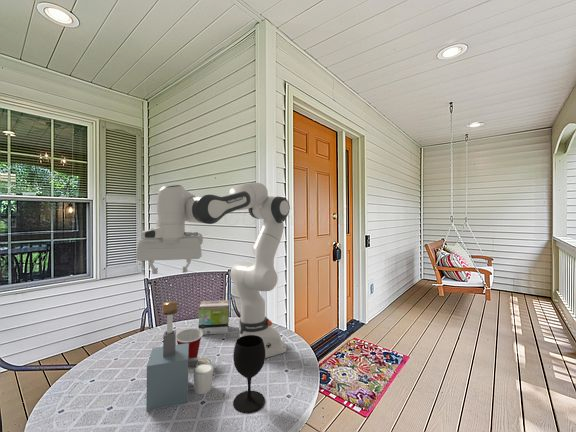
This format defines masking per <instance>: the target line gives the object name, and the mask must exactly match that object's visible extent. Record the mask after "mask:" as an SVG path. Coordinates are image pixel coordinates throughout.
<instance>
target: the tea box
mask: <svg viewBox="0 0 576 432" xmlns="http://www.w3.org/2000/svg"><path fill="white" fill-rule="evenodd" d="M229 316H230V300H229V299H226V300H224V299H223V300H221V299H219V300H201V301H200V304H199V307H198V329H199V330H201V331H202V332H203V335H216V334H217V335H219V334H220V335H221V334H228V333H229V325H230V324H229V320H230V319H229Z"/></svg>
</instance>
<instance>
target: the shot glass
mask: <svg viewBox="0 0 576 432" xmlns="http://www.w3.org/2000/svg"><path fill="white" fill-rule="evenodd" d="M192 373H193V382H194V392H195V393H196V394H199V395H201V394H203V395H204V394H206V393H208V392H210V390H211V389H212V386H213V385H212V384H213V375H214V365H212V364H211V363H202V364H197V368H193V370H192Z"/></svg>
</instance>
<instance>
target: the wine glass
mask: <svg viewBox="0 0 576 432" xmlns="http://www.w3.org/2000/svg"><path fill="white" fill-rule="evenodd" d="M239 337H240V336H239ZM239 337H238V338H237V339H236V341H235V345H234V348H233V355H232V356H233V357H232V358H233V359H232V360H233V364H234V368H235V370H236V371H237V373H238V374H240V375H241V376H242V377H244V378H246V381H247V390H245V391H244V390H243V391H242V392H239V393H238V394H237V395H236V396H235V397H234V398H233V402H232V405H233V408H234V409H235V410H236V411H237V412H239V413H242V414H252V413H256V412H258V411H259V410H261V409H262V408H263V407H264V405H265V402H266V400H265V396H264V395H263V394H262V393H261V392H259V391H257V390H252V389H251V386H252V378H254V377H256V376H257V375H258V374H259V373H260V372H261V371H262V369H263V367H264V365H265V361H266V358H265V346H264V342H263V339H262V338H261V337H259V336H256V335H246V336H242V337H240V338H239Z"/></svg>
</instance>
